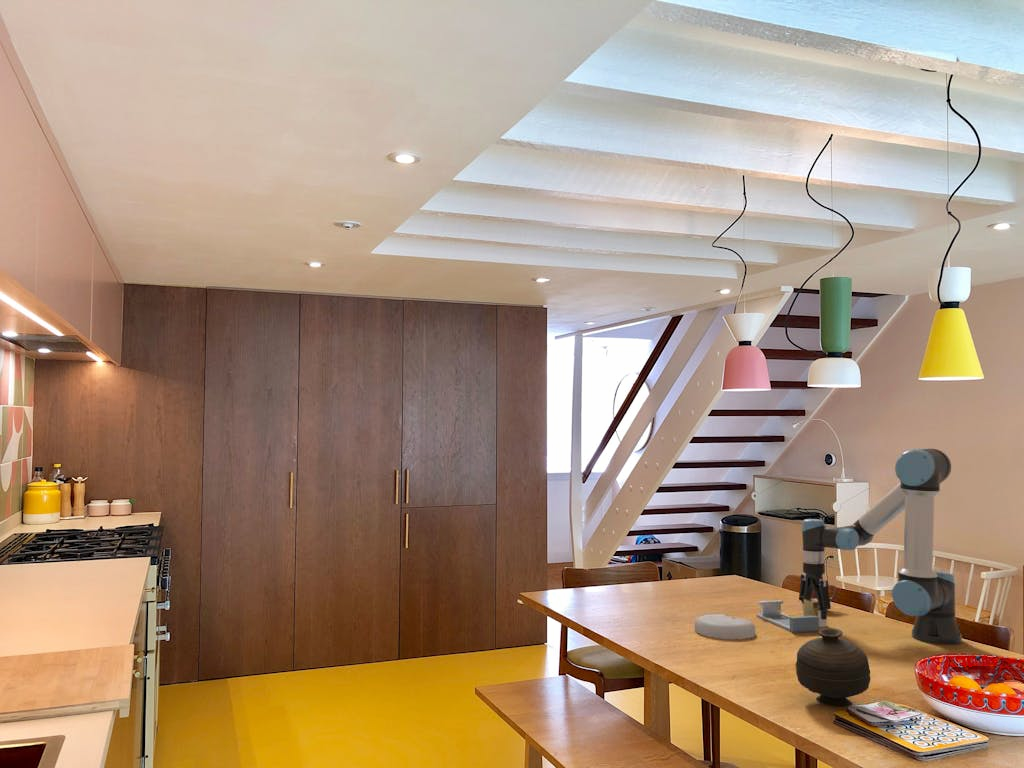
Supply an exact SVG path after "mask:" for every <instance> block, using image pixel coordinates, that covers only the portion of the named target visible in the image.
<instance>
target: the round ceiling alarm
mask: <svg viewBox="0 0 1024 768" xmlns="http://www.w3.org/2000/svg"><path fill="white" fill-rule="evenodd" d="M695 631H696V632H695ZM694 632H695V633H696V634H698V633H699V635H701V636H704V635H705V637H707V636H708V638H712V637H714V638H713V639H719V638H721V640H732V639H738V640H746V639H745V638H749V639H752V638H754V637H755V636H756V626H755V624H754V623H753V622H751V621H750V620H747V619H744V618H741V617H737V616H736V617H735V616H728V615H727V614H726V613H711V614H710V613H709V614H705V615H701V616H699V617H697V618H696V620H695V621H694ZM753 636H754V637H753ZM751 637H752V638H751Z"/></svg>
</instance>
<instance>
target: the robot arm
mask: <svg viewBox="0 0 1024 768" xmlns="http://www.w3.org/2000/svg"><path fill="white" fill-rule="evenodd" d="M894 472H895V475H896V477H897V479H898V480H899V481H900V482H898V484H897V485H896V486H894V487H893V488H892V489H891V490H889V492H888V493H887V494H885V495H884V496H883V497H882V498H881V499H879V500H878V501H877V502H876V503H875V504H874V505H873V506H872V507H871V508H870V509H868V510H867V511H866V512H865V513H864V514H863V515H862V516H860V517H859V518H858V519H857V520H856V521H854V522H853V523H852V524H851V525H846V526H845V525H844V526H839V527H837V526H836V527H835V526H828V525H826V524H825V521H824V520H823V519H819V518H818V519H817V518H806V519H803V521H802V529H801V533H802V535H801V536H802V562H803V563H802V572H803V573H804V574H800V586H799V593H798V600H799V601H800V602H801V603H802V616H804V599H810V598H811V595H812V591H813V590H814V591H815V593H816V597H817V600H818V604H819V607H820V608H819V609H818V617H819V628H828V627H827V626H828V625H827V618H828V616H827V615H828V613H827V611H828V610H831V609H832V607H831V601H830V599H829V598H830V594H829V589H828V584H829V581H828V580H824V579H823V576H822V575H824V574H825V572H826V564H825V563H824V562H825V548H828V549H829V548H831V549H836V550H837V549H838V550H842V551H854V550H856V549H857V548H858V547H860V546H862V547H863V546H865V545H867V544H869V543H870V542H872V541H873V539H874V536H875V535H876V534H877V533H879V532H880V531H881V530H882V529H883V528H885V526H887V525H889V523H890V522H892V521H893V519H895V518H896V517H897V516H899V515H900V514H901V513H902V512H903V511H904V527H903V528H904V531H903V532H904V533H903V534H904V535H903V566H902V567H901V568H900V569H898V572H897V582H896V583H895V584H894V586H893V587H892V591H891V597H892V601H893V603H894V604H895V605H894V606H896V608H897V609H898V610H899V611H901V612H902V613H903V614H905V615H907V616H910V617H915V620H914V623H913V628H912V630H911V638H913V639H914V640H917V641H919V640H920V641H919V642H923V641H924V643H927V642H929V643H928V644H933V643H934V644H935V645H943V646H945V645H946V646H954V645H955V646H957V645H961V644H962V642H963V636H962V633H961V630H960V626H959V625H958V622H957V619H956V582H955V576H954V575H953V574H952V573H950V572H946V571H945V572H944V571H943V572H942V571H935V570H933V562H934V561H933V558H934V557H933V555H934V553H933V552H934V520H935V519H934V517H935V516H934V515H935V496H936V495H938V494H939V493H940V490H941V489H940V488H941V487H940V486H941V484H942V483H943V482H945V481H946V480H947V479H948V477H949V476H950V475H951V472H952V463H951V459H950V458H949V457H948V455H947V454H946V453H945V452H943V451H942V450H939V449H936V448H913V449H911V450H907V451H905V452H903V453H902V454H900V455H899V457H898V458H897V460H896V461H895V466H894Z"/></svg>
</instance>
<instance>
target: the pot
mask: <svg viewBox="0 0 1024 768" xmlns="http://www.w3.org/2000/svg"><path fill="white" fill-rule="evenodd" d="M817 635H819V636H820V637H816V638H812V639H811V640H808V641H806V642H805V643H804V644H802V646H800V647H799V648H798V651H797V652H796V661H795V664H794V666H795V673H796V676H797V680H798V683H799V684H800V685H801V686H802V687H804V688H806V689H808V691H809V692H812V693H814V694H818V696H817V697H816V698H815V700H816V701H817V702H818V703H820V704H821V705H822V704H823V705H824V706H830V707H839V708H845V707H850V706H849V705H851V706H852V705H853V702H852V701H851V700H849V698H850V697H856V696H858V695H860V694H863V693H864V692H866V691H867V690H868V689H869V687H870V682H871V669H870V664H869V658H868V656H867V654H866V653H865V651H864V650H863V649H862V648H860V646H859V645H856V644H855V643H854V642H852V641H850V640H847V639H845V638H841V637H842V635H843V630H841V629H838V628H836V627H834V628H833V627H822V628H821V629H819V632H817Z"/></svg>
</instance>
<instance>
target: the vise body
mask: <svg viewBox="0 0 1024 768" xmlns="http://www.w3.org/2000/svg"><path fill="white" fill-rule="evenodd" d="M756 618H759V619H761V620H763V621H766V622H768V623H770V624H773V625H774V626H777V627H779V628H781V629H784V630H786V631H788V632H790V633H818V632H819V631H820V627H819V617H818V616H803V615H802V616H790V615H787V614H786V613H783V612H781V616H763V615H761V613H756Z"/></svg>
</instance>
